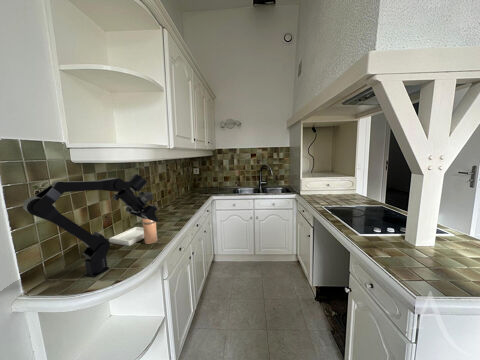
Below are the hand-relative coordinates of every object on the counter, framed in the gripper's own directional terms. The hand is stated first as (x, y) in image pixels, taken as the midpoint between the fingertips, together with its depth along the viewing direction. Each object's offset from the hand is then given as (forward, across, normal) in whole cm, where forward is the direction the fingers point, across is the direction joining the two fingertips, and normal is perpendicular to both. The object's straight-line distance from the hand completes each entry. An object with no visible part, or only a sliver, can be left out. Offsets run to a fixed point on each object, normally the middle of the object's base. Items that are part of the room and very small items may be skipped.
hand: (152, 219), depth 104 cm
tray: (+12, +22, +8) cm, 26 cm away
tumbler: (+13, +8, +6) cm, 17 cm away
